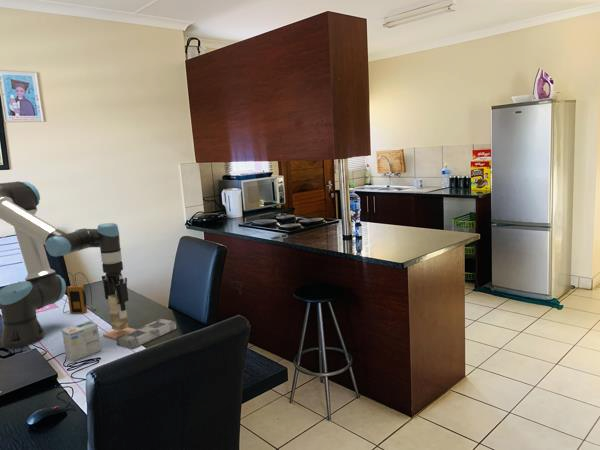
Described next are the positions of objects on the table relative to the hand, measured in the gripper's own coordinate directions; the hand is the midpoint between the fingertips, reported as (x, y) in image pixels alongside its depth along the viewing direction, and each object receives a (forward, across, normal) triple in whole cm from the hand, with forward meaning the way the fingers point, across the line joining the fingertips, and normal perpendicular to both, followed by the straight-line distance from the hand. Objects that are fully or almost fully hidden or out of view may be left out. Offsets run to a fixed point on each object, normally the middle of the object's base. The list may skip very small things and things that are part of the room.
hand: (118, 317), depth 186 cm
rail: (+7, -13, -3) cm, 15 cm away
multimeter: (+7, +45, -11) cm, 47 cm away
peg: (+5, 0, 0) cm, 5 cm away
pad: (+7, 0, 0) cm, 7 cm away
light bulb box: (+7, -4, +19) cm, 21 cm away
